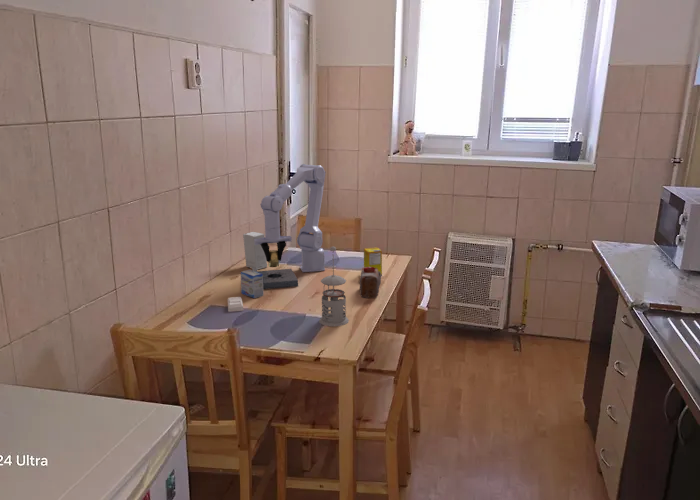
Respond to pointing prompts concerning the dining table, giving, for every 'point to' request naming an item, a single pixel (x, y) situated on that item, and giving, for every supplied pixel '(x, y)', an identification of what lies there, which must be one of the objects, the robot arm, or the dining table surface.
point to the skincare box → (254, 251)
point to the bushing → (273, 258)
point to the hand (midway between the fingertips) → (273, 260)
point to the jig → (278, 278)
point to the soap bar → (235, 304)
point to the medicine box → (252, 283)
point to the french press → (333, 301)
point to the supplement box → (373, 258)
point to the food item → (369, 282)
